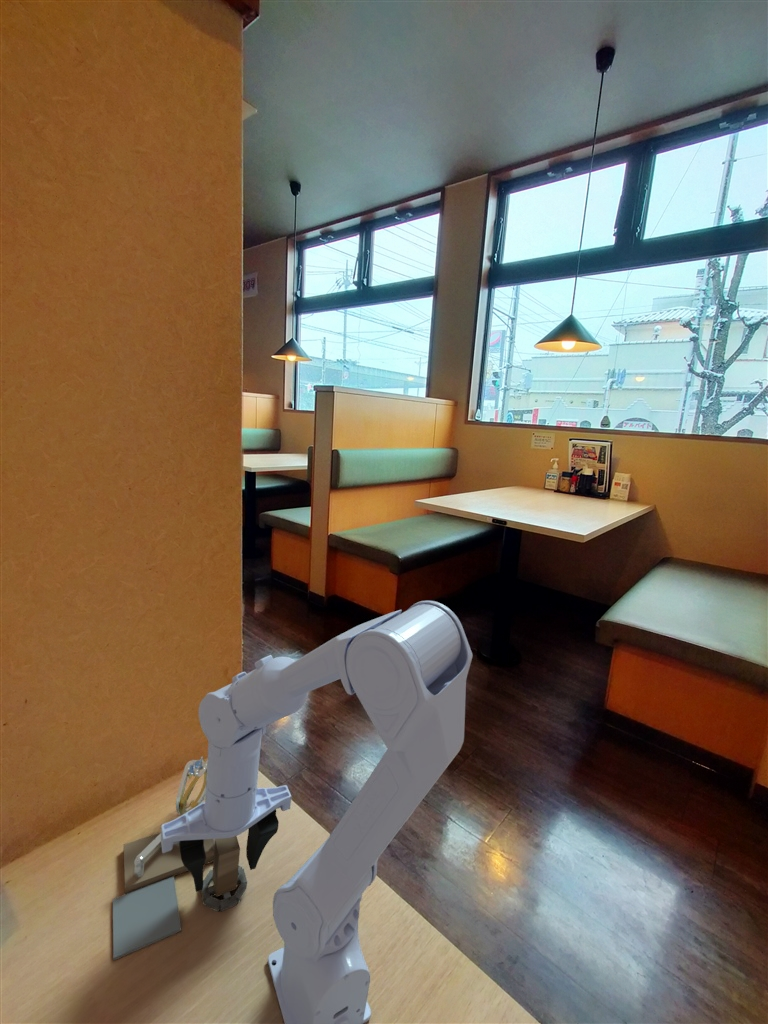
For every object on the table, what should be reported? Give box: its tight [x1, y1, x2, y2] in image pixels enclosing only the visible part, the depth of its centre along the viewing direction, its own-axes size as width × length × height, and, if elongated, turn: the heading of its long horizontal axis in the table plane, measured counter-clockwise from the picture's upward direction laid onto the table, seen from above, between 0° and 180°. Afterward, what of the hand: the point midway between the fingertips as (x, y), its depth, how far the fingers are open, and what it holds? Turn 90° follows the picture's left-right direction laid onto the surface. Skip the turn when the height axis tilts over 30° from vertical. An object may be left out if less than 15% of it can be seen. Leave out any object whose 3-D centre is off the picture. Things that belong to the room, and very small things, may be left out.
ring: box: [175, 756, 208, 816], centre depth 65 cm, size 7×3×8 cm, turn 162°
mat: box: [112, 876, 182, 961], centre depth 52 cm, size 6×6×1 cm
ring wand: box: [200, 835, 248, 912], centre depth 55 cm, size 5×5×7 cm
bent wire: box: [134, 832, 215, 879], centre depth 59 cm, size 5×10×4 cm, turn 121°
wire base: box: [123, 831, 214, 895], centre depth 59 cm, size 6×12×1 cm, turn 121°
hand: (225, 872), depth 55 cm, fingers open, 6 cm apart
